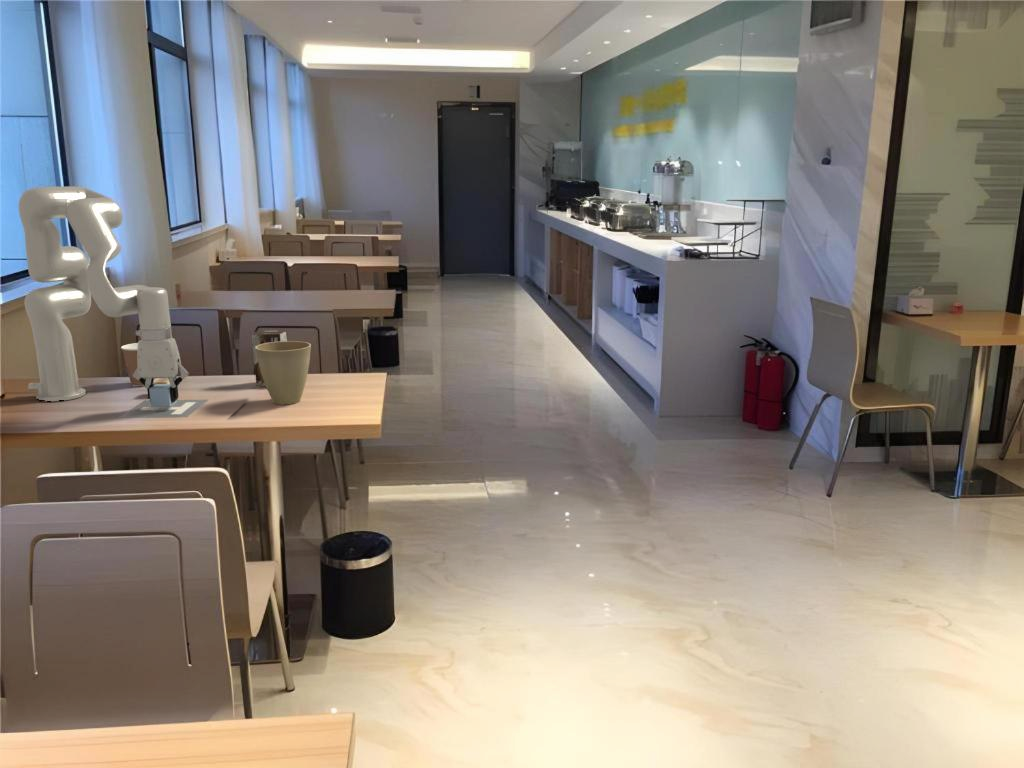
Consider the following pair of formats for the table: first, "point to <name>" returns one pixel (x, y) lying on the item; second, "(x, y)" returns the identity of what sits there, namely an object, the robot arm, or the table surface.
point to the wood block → (161, 381)
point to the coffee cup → (131, 362)
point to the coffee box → (262, 338)
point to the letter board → (164, 409)
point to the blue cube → (160, 395)
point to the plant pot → (284, 369)
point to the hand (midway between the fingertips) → (163, 400)
